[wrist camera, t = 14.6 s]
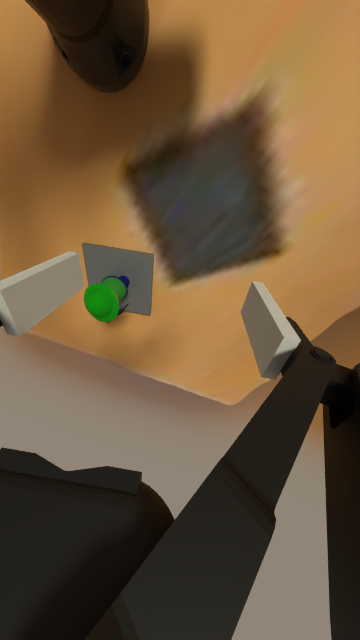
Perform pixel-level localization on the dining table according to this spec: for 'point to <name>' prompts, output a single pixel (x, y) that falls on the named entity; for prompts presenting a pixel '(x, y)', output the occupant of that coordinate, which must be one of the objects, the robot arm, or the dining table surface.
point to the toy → (106, 298)
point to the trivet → (122, 273)
